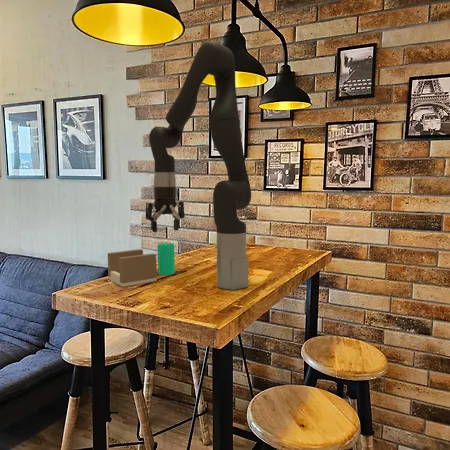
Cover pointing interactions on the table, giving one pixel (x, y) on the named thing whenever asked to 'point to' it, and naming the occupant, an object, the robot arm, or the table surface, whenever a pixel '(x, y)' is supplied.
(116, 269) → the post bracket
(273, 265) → the table surface
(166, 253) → the candle
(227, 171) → the robot arm
